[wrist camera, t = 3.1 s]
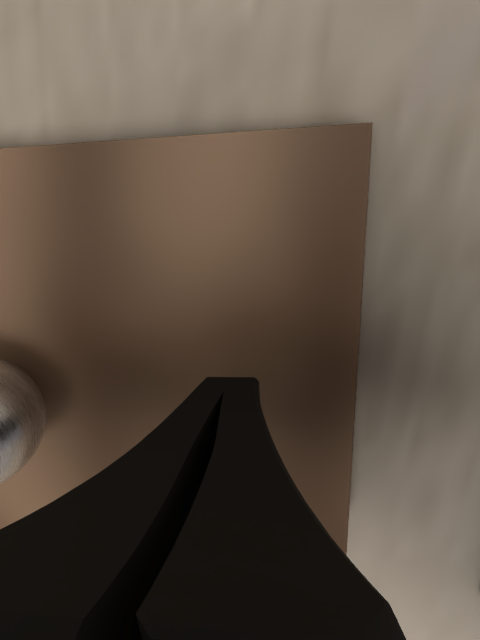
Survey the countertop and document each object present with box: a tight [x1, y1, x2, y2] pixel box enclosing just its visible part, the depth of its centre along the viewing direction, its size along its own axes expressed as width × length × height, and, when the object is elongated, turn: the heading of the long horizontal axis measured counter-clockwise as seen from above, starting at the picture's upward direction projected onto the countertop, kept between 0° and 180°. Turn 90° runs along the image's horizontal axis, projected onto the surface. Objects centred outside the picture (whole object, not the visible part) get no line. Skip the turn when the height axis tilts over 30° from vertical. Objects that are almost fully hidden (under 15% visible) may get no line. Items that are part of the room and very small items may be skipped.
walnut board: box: [0, 123, 372, 555], centre depth 13 cm, size 19×13×2 cm
